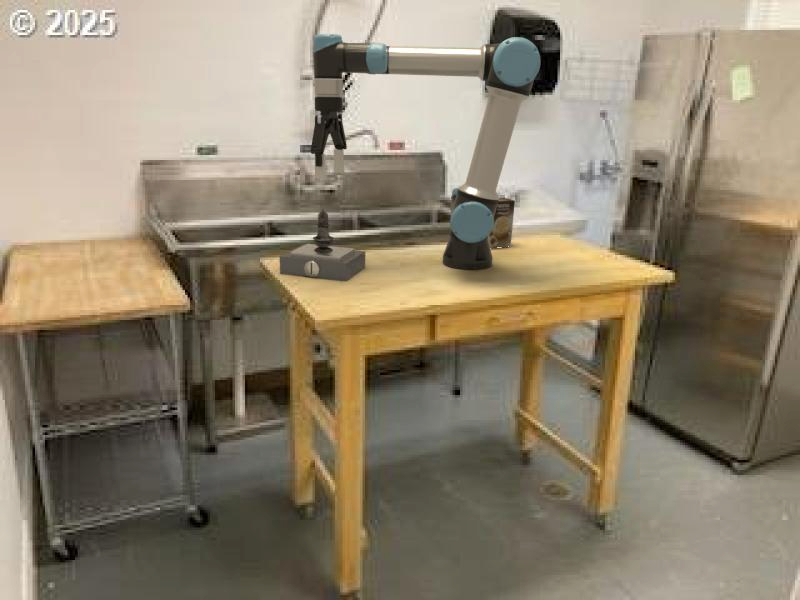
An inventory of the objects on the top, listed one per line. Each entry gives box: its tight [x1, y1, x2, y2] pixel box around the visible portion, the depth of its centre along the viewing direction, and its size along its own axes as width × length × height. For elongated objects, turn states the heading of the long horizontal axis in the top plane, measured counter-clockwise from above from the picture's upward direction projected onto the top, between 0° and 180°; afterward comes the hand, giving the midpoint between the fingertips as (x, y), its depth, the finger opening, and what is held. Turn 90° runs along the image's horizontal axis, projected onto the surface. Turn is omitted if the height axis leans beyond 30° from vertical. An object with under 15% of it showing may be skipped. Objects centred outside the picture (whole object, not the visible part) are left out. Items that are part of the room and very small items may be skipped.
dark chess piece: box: [312, 208, 334, 253], centre depth 189 cm, size 6×6×12 cm
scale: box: [279, 243, 366, 282], centre depth 192 cm, size 20×16×6 cm
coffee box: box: [488, 197, 516, 248], centre depth 225 cm, size 9×6×16 cm
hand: (330, 175), depth 187 cm, fingers open, 13 cm apart
